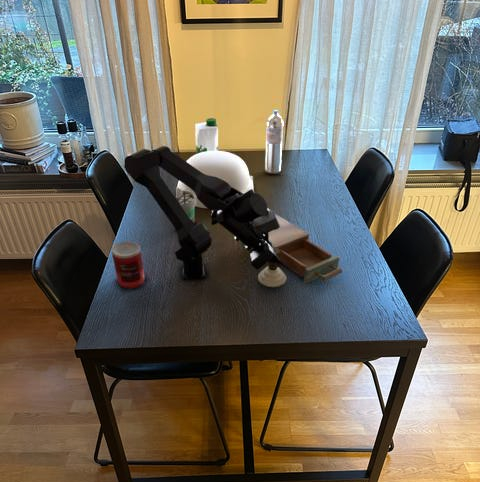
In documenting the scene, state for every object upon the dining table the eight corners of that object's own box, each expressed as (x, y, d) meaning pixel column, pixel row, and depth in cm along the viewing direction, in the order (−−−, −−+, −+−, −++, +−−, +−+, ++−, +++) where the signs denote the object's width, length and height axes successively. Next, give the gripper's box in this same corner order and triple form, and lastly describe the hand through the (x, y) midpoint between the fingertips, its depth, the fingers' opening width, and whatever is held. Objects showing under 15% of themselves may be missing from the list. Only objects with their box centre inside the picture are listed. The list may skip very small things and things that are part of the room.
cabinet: (307, 250, 144) (309, 234, 140) (274, 264, 138) (275, 247, 134) (276, 231, 154) (277, 214, 150) (243, 243, 148) (244, 226, 144)
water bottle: (261, 170, 195) (264, 109, 179) (275, 167, 197) (279, 107, 181) (269, 176, 190) (272, 114, 174) (283, 173, 192) (287, 112, 176)
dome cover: (187, 214, 163) (184, 177, 154) (166, 182, 184) (162, 148, 175) (268, 200, 172) (270, 164, 163) (239, 171, 194) (239, 138, 185)
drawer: (347, 275, 132) (349, 263, 129) (316, 290, 126) (318, 277, 124) (304, 248, 144) (305, 236, 141) (274, 260, 138) (275, 248, 135)
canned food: (132, 270, 135) (127, 238, 128) (150, 280, 131) (146, 247, 124) (112, 281, 130) (105, 249, 123) (130, 292, 126) (124, 259, 120)
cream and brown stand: (288, 285, 126) (291, 257, 120) (260, 288, 125) (262, 259, 119) (282, 269, 132) (285, 242, 126) (255, 271, 131) (257, 244, 125)
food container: (192, 234, 151) (190, 207, 145) (174, 233, 152) (171, 205, 146) (201, 217, 161) (200, 191, 154) (185, 216, 161) (183, 189, 155)
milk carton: (220, 170, 194) (219, 122, 182) (200, 172, 192) (197, 124, 180) (215, 162, 201) (214, 116, 188) (195, 165, 199) (192, 117, 186)
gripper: (267, 222, 106) (308, 259, 114) (256, 188, 121) (293, 223, 129) (234, 252, 111) (275, 285, 119) (227, 216, 125) (265, 248, 133)
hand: (278, 259), depth 125 cm, fingers closed on cream and brown stand, 3 cm apart
